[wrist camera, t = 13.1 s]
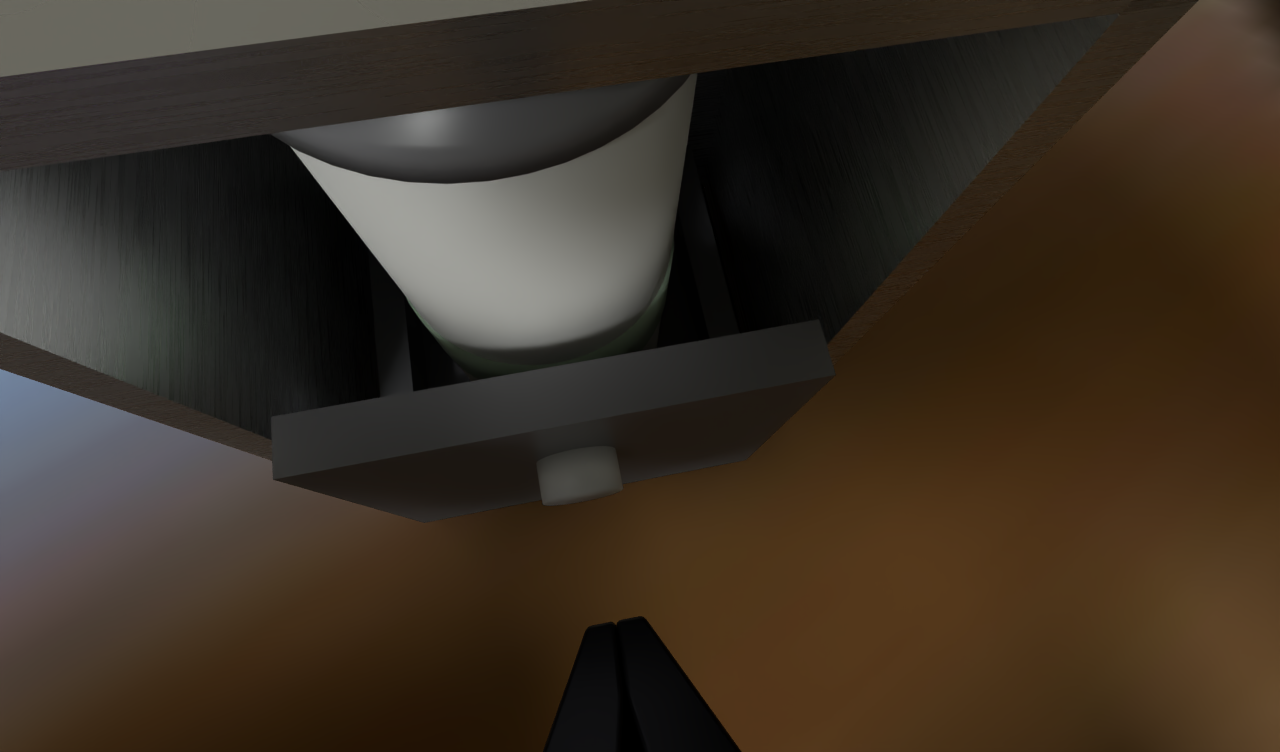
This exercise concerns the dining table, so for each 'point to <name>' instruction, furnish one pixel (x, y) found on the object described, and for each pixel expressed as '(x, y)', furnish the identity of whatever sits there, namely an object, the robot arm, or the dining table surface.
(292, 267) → the caddy
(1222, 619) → the dining table surface
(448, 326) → the cup
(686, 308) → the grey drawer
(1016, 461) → the dining table surface
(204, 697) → the dining table surface
